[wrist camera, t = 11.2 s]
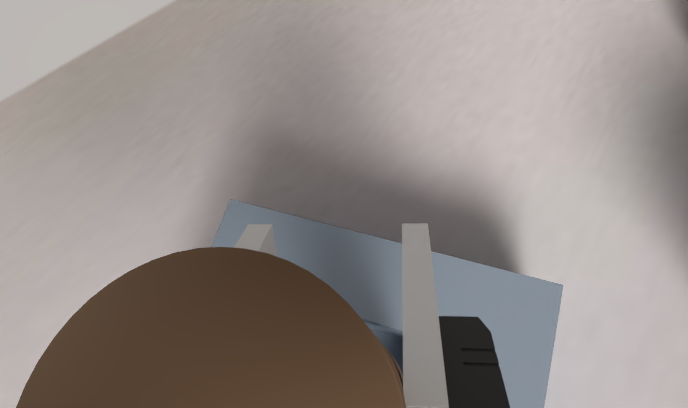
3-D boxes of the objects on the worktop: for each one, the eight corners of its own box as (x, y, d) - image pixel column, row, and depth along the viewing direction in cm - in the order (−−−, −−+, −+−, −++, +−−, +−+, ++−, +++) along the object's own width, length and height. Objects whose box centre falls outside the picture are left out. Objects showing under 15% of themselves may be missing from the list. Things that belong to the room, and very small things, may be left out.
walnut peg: (291, 426, 18) (-82, 611, 4) (321, 325, 19) (108, 208, 5) (390, 461, 17) (334, 835, 3) (415, 353, 19) (453, 304, 5)
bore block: (183, 454, 25) (120, 479, 20) (263, 231, 29) (230, 199, 23) (480, 570, 22) (507, 638, 17) (527, 303, 26) (563, 285, 20)
